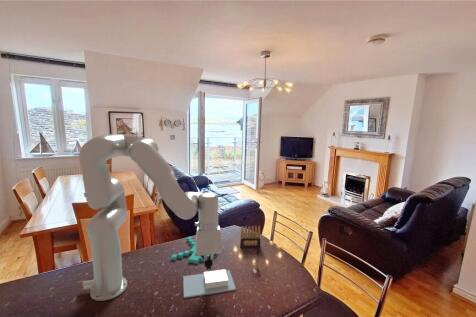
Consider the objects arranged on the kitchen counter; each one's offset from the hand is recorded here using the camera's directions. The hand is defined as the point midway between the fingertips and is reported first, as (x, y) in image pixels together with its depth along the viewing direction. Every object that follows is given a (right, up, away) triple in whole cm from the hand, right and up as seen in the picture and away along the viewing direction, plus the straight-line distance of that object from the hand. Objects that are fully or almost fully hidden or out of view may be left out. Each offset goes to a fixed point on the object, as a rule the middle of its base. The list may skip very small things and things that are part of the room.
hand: (208, 267), depth 93 cm
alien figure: (-8, -4, +25) cm, 26 cm away
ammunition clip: (+18, -3, +30) cm, 35 cm away
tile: (-2, -5, 0) cm, 6 cm away
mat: (0, -7, +1) cm, 7 cm away
